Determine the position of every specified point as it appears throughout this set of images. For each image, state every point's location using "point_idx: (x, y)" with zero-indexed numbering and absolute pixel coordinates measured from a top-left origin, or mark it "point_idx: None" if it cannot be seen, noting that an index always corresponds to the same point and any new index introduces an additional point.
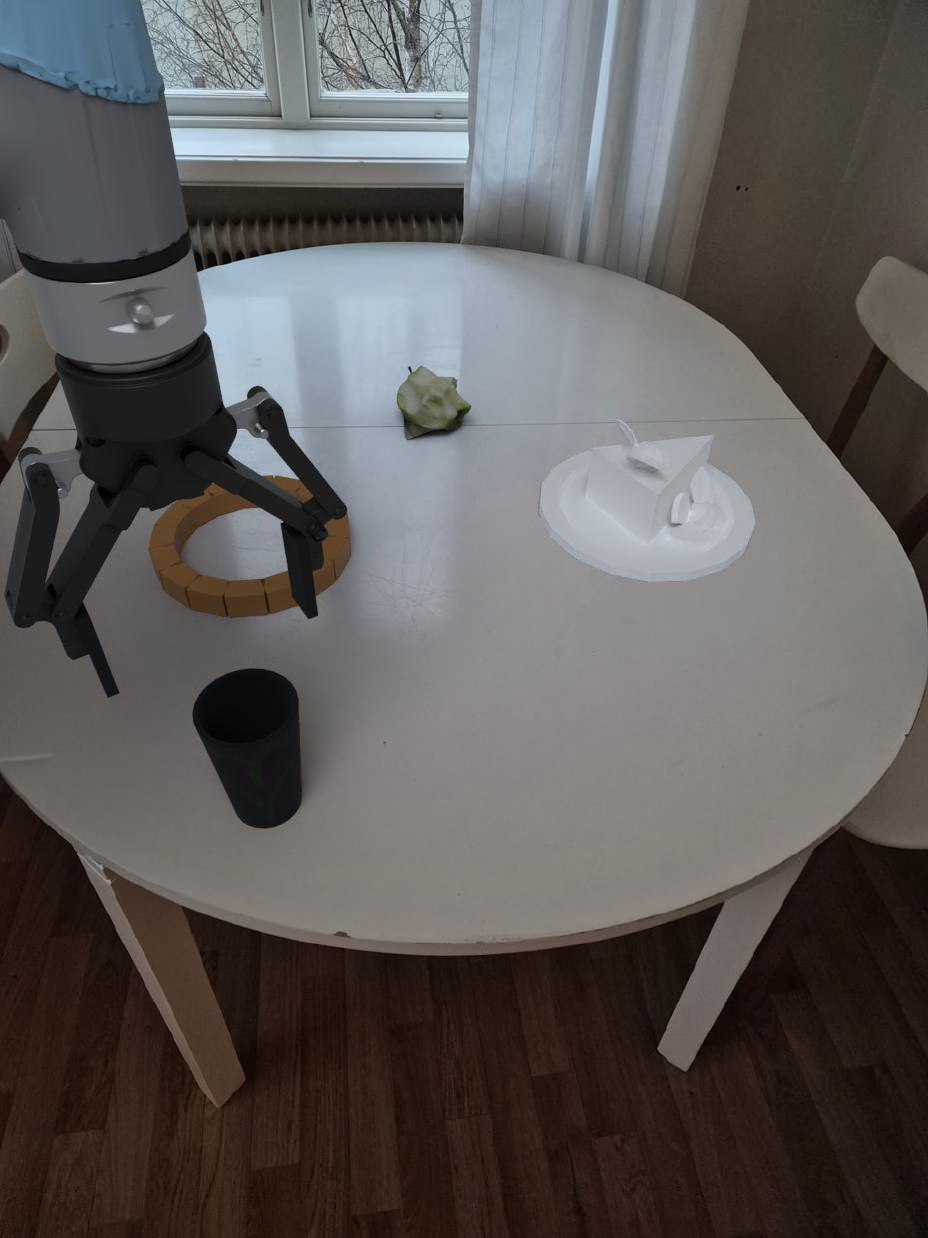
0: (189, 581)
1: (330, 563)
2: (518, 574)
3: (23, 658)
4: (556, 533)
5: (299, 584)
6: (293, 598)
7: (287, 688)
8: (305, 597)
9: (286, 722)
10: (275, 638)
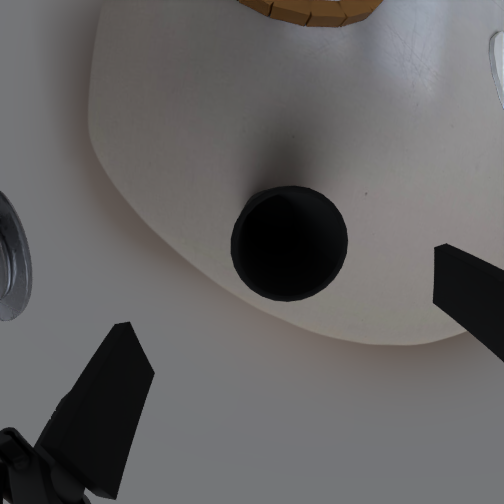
0: None
1: (370, 11)
2: (475, 89)
3: (104, 32)
4: (498, 79)
5: (469, 314)
6: (434, 251)
7: (339, 230)
8: (458, 322)
9: (326, 282)
10: (306, 51)
